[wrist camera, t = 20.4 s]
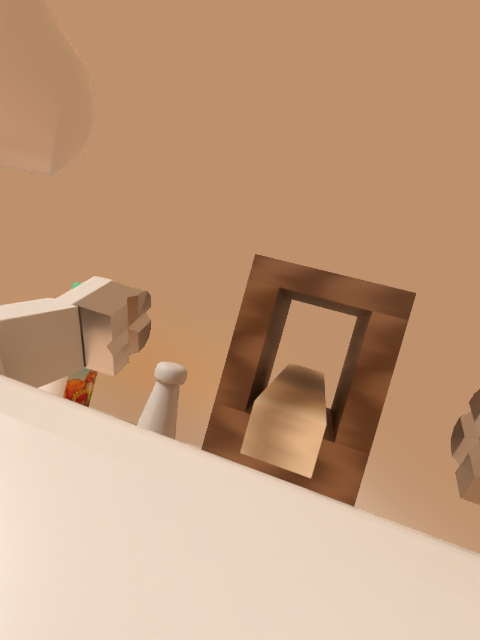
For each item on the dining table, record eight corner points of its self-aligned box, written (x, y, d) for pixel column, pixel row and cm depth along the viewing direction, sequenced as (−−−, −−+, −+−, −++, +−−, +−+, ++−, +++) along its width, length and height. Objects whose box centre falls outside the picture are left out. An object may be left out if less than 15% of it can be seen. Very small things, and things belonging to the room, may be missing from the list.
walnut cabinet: (164, 581, 30) (255, 254, 29) (208, 511, 42) (274, 275, 41) (312, 649, 28) (416, 293, 27) (315, 554, 39) (387, 304, 39)
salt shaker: (166, 449, 55) (189, 363, 54) (173, 469, 50) (199, 373, 49) (125, 445, 53) (149, 355, 52) (128, 464, 47) (155, 365, 47)
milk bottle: (29, 432, 49) (68, 282, 48) (21, 409, 55) (56, 276, 54) (90, 432, 54) (126, 296, 53) (76, 411, 60) (108, 289, 59)
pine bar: (240, 452, 21) (254, 400, 21) (283, 387, 44) (290, 362, 44) (311, 478, 20) (326, 424, 20) (316, 398, 44) (323, 372, 43)
